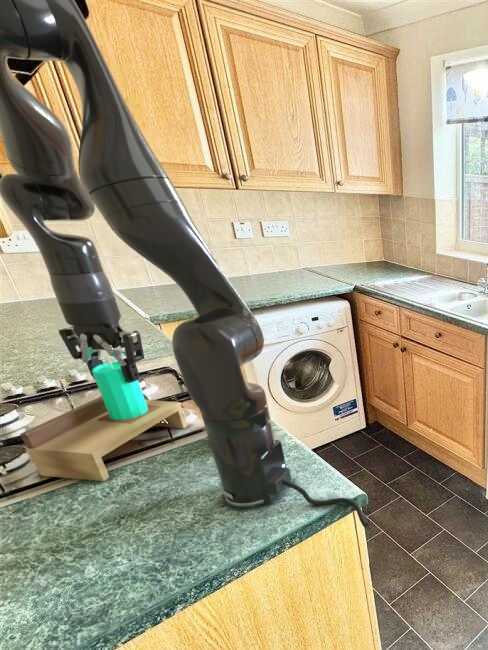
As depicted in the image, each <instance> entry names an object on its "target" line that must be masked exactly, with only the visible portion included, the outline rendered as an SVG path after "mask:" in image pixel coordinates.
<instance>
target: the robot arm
mask: <svg viewBox="0 0 488 650" xmlns="http://www.w3.org/2000/svg"><path fill="white" fill-rule="evenodd" d="M103 55H104V54H103V53H102V51H101V49H100V47H99V45H98V43H97V41H96V39H95V37H94V34H93V32H92V31H91V29H90V27H89V24H88V23H87V21H86V18H85V17H84V15H83V13H82V11H81V9H80V8H79V6H78V4H77V3H76V0H0V138H1V142H2V145H3V148H4V151H5V155H6V159H7V162H8V163H9V165H10V167H11V168H12V169H13V170H14V172H16V173H6V174H4V175H2V177H1V178H0V197H1V199H2V200H3V202H4V203H5V204H6V206H7V207H8V208H9V210H10V211H11V212H12V213H13V215H14V216H15V217H16V218H17V220H19V222H20V223H21V224H22V225H23V227H24V228H25V230H26V231H27V232H28V233H29V235H30V237H31V238H32V240H33V242H34V243H35V245H36V247H37V248H38V250H39V253H40V255H41V258H42V260H43V262H44V265H45V267H46V269H47V270H46V271H47V272H48V276H49V279H50V284H51V288H52V291H53V294H54V296H55V298H56V300H57V303H58V305H59V308H60V310H61V313H62V316H63V318H64V321H65V323H66V324H67V325H68V327H65V328H62V329H59V330H58V334H59V336H60V337H61V339H62V342H63V343H64V345H65V347H66V348H67V351H68V352H69V354H70V355H71V357H72V359H74V360H82V363H84V364H86V365H87V368H88V371H89V373H90V375H91V376H92V378H93V380H94V381H95V378H94V376H93V373H92V369H93V368H94V367H96V366H98V365H102V364H104V361H103V360H102V359H101V355H102V354H101V352H102V351H105V352H106V353H107V354H108V355H109V356H110V357H113V358H115V360H116V362H119V363H120V365H121V366H120V367H121V370H122V372H123V375H124V378H125V381H126V382H128V383H132V382H134V381H137V380H138V381H139V379H140V373H139V370H138V367H137V362H139V361H142V360H144V359H145V353H144V348H143V343H142V337H141V333H140V332H139V330H134V331H126V330H125V329H123V327H122V326H121V325H120V320H121V318H122V314H121V312H120V309H119V306H118V303H117V300H116V298H115V294H114V291H113V287H112V286H111V283H110V280H109V278H108V276H107V275H106V273H105V271H104V268H103V265H102V262H101V259H100V256H99V254H98V250H97V248H96V245H95V243H94V241H92V239H91V238H88V237H86V236H84V235H78V234H77V235H76V234H67V233H62V232H57V231H55V230H52V229H51V228H49V227H48V226H47V224H46V223H45V222H80V221H87V220H89V219H90V218H92V217H93V216H94V214H95V211H96V209H98V211H99V213H100V214H101V216H102V218H103V219H104V220H105V222H106V224H107V225H108V227H110V229H111V231H112V232H113V233H114V234H115V235H116V236H117V237H118V238H119V239H120V240H121V241H122V242H124V243H125V244H126V245H127V246H128V247H129V248H131V250H133V251H134V252H136V254H138V255H139V256H140V257H142V258H143V259H145V260H147V261H148V262H149V263H150V264H152V265H153V266H154V267H156V268H157V269H159V270H160V271H161V272H163V273H164V274H165V275H166V276H168V278H170V279H171V280H172V281H173V282H174V283H175V284H176V285H177V286H178V287H179V288H180V289H181V290H182V291H183V293H184V295H185V296H186V297H187V299H188V300H189V302H190V303H191V305H192V307H193V308H194V310H195V311H196V313H197V315H196V316H195V317H192V318H190V319H187V320H185V321H183V322H181V323H180V324H178V325H177V326H176V328H175V329H174V331H173V334H172V338H171V339H172V341H171V344H172V351H173V355H174V358H175V361H176V364H177V367H178V369H179V372H180V374H181V377H182V379H183V382H184V385H185V388H186V390H187V393H188V395H189V397H190V399H191V400H192V401H193V403H194V404H195V405H196V407H198V409H199V411H200V414H201V418H202V423H203V425H204V428H205V432H206V435H207V438H208V442H209V446H210V449H211V452H212V456H213V459H214V463H215V466H216V469H217V474H218V476H219V479H220V483H221V486H222V488H220V491H221V494H223V496H224V499H225V502H226V503H227V504H228V505H229V506H231V507H233V508H237V509H247V508H248V509H249V508H254V507H258V506H261V505H271V504H272V503H274V502H275V500H276V499H277V498H278V497H279V495H281V494H282V493H283V491H284V490H285V489H286V488H287V487H289V488H291V489H293V490H295V491H296V492H298V493H300V494H301V496H303V498H304V499H305V501H306V502H307V503H309V504H311V505H315V506H327V505H334V504H338V503H343V504H344V503H345V504H347V505H350V506H352V507H353V509H355V511H356V515H357V517H358V520H359V521H360V523H361V525H362V527H363V528H367V527H368V526H369V524H368V521H367V520H366V517H365V515H364V513H363V511H362V508H361V507H360V505H359V504H358V503H357V502H356V501H354V500H353V499H350V498H347V497H338V498H337V497H336V498H332V499H326V500H325V499H324V500H317V499H313V498H312V497H311V496H310V495H309V493H308V492H307V491H306V489H304V488H303V487H301V486H299V484H296V483H294V482H292V474H291V470H290V468H289V467H287V465H286V464H287V463H286V460H285V454H284V450H283V444H282V441H281V440H280V439H276V437H275V433H274V429H273V425H272V420H271V414H270V410H269V406H268V399H267V395H266V392H265V389H264V388H263V387H262V386H261V385H259V384H257V383H254V382H247V381H245V378H244V375H243V371H242V367H243V366H245V365H246V364H248V363H250V362H251V361H253V360H254V359H256V358H257V357H258V356H260V355H261V353H262V352H263V350H264V346H265V337H264V333H263V330H262V328H261V326H260V324H259V322H258V319H256V317H255V316H254V314H253V313H252V311H251V309H250V308H249V307H248V305H247V303H246V302H245V301H244V299H243V298H242V297H241V296H240V294H239V293H238V291H237V289H236V288H235V286H234V285H233V284H232V282H231V281H230V280H229V278H228V277H227V275H226V273H225V272H224V271H223V270H222V268H221V266H220V264H219V263H218V261H217V259H216V258H215V256H214V254H213V253H212V251H211V249H210V247H209V246H208V244H207V242H206V241H205V239H204V238H203V236H202V234H201V233H200V231H199V229H198V227H197V226H196V223H195V222H194V220H193V218H192V217H191V215H190V213H189V211H188V208H187V206H186V205H185V203H184V201H183V200H182V198H181V196H180V194H179V193H178V191H177V189H176V187H175V185H174V184H173V182H172V180H171V178H170V177H169V175H168V173H167V172H166V170H165V169H164V167H163V165H162V164H161V162H160V161H159V159H158V157H157V156H156V154H155V153H154V150H153V149H152V146H150V144H149V142H148V140H147V139H146V137H145V135H144V133H143V131H142V130H141V128H140V126H139V125H138V122H137V120H136V119H135V117H134V116H133V114H132V112H131V110H130V108H129V106H128V105H127V102H126V100H125V98H124V97H123V95H122V93H121V90H120V88H119V86H118V83H117V82H116V80H115V77H114V76H113V74H112V72H111V70H110V68H109V66H108V64H107V62H106V60H105V58H104V56H103ZM8 59H17V60H31V61H52V62H61V63H62V64H63V65H64V66H65V68H66V69H67V70H68V72H69V74H70V75H71V77H72V80H73V81H74V84H75V86H76V88H77V91H78V94H79V98H80V102H81V116H82V118H81V119H82V120H81V132H80V140H79V148H78V163H77V164H78V172H77V169H76V165H75V158H74V151H73V144H72V140H71V137H70V134H69V132H68V129H67V128H66V126H65V124H64V123H63V122H62V120H61V119H60V118H59V117H58V116H57V114H55V112H54V111H52V109H51V108H49V107H48V106H47V105H46V104H45V103H44V101H42V100H40V98H38V97H37V96H35V94H33V93H32V92H31V91H30V90H29V89H28V88H27V87H26V86H24V85H23V84H22V82H21V81H19V80H18V78H17V77H16V76H15V75H14V74H13V72H12V70H11V69H10V67H9V65H8V64H9V63H8ZM77 346H78V349H79V351H78V349H77ZM118 347H120V348H119V349H118ZM122 354H123V355H124V356H125V357H124V356H123V355H122Z"/></svg>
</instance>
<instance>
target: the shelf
mask: <svg viewBox="0 0 488 650" xmlns="http://www.w3.org/2000/svg"><path fill="white" fill-rule="evenodd" d="M145 402H146V404H147V407H148V411H147V412H146V413H144V414H143V415H141V416H138V417H136V418H132V419H127V420H113V419H111V418H110V416H109V413H108V411H107V408H106V406H105V403H104V401H103V398H102V396H101V395H100V396H99V397H97V398H95V399H92V400H90V401H88V402H85V403H84V404H82V405H80V406H78V407H74V408H73V409H71V410H69V411H66V412H64V413H62V414H60V415H58V416H56V417H53V418H51V419H50V420H47V421H45V422H43V423H41V424H39V425H37V426H34V427H32V428H30V429H27V430H25V431H24V432H21V433H20V437H21V439H22V441H23V443H24V445H25V447H26V449H27V451H28V453H29V454H30V456H31V458H32V460H33V462H34V464H35V466H36V469H37V470H38V473H39V474H40V476H42V477H51V478H52V477H53V478H62V479H64V478H65V479H73V480H74V479H76V480H87V481H95V482H96V481H97V482H105V481H106V480H108V479H109V478H110V474H109V472H108V470H107V467H106V466H105V462H104V461H103V458H102V457H105V456H106V455H107V454H109V453H111V452H112V451H114V450H115V449H117V448H119V447H120V446H122V445H125V444H126V443H127V442H129V441H131V440H132V439H134V438H136V437H137V436H138V435H140V434H142V433H144V432H145V431H147V430H149V429H150V428H152V427H160V428H161V427H162V428H173V429H185V428H187V427H188V423H187V420H186V416H185V412H184V410H183V407H182V403H181V402H179V401H165V400H156V399H155V400H154V399H145ZM164 419H165V420H166V421H167V422H168V424H167V423H166V424H165V423H159V422H160V421H162V420H164Z"/></svg>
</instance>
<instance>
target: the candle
mask: <svg viewBox="0 0 488 650" xmlns="http://www.w3.org/2000/svg"><path fill="white" fill-rule="evenodd" d="M108 361H109V363H103V364H102V365H98V366H96V367H94V368H93V369H92V373H93V376H94V378H95V380H94V381H95V383H96V386H97V388H98V390H99V393H100V397H101V396H102V398H103V401H104V403H105V406H106V408H107V411H108V413H109V416H110V418H111V419H113V420H127V419H132V418H136V417H138V416H141V415H143V414H144V413H146V412H147V411H148V407H147V404H146V402H145V400H146V399H145V396H144V394H143V391H142V387H141V385H140V382H139V379H138V380H137V381H134V382H132V383H128V382H126V381H125V378H124V375H123V372H122V370H121V367H120V366H121V365H120V363H119V362H118V361H115V362H114V361H113V362H112V361H111V359H110V358H109V359H108ZM94 378H93V379H94Z"/></svg>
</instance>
